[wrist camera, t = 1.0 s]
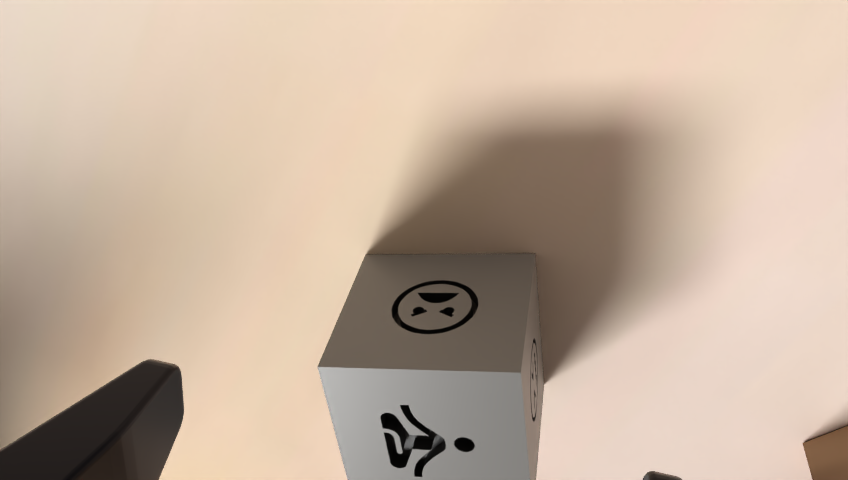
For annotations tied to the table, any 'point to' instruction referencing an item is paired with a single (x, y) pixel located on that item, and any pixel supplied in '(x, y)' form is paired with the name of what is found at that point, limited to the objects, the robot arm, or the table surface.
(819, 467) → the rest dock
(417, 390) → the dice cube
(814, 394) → the table surface
